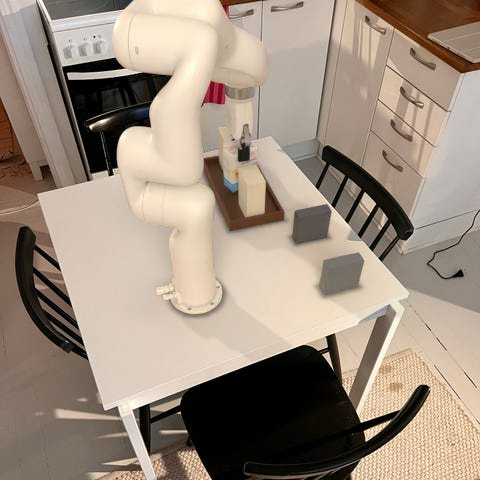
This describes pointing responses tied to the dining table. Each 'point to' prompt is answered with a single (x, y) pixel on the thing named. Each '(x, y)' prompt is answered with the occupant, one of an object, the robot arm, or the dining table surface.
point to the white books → (246, 182)
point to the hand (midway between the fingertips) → (240, 153)
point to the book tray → (230, 199)
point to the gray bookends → (334, 269)
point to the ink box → (235, 161)
